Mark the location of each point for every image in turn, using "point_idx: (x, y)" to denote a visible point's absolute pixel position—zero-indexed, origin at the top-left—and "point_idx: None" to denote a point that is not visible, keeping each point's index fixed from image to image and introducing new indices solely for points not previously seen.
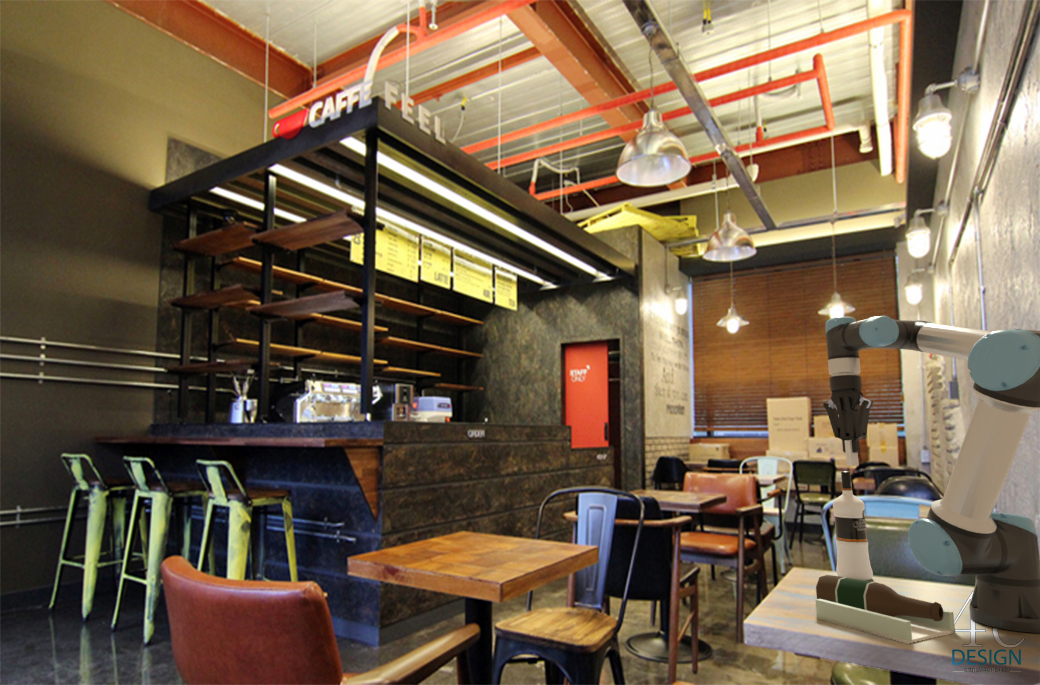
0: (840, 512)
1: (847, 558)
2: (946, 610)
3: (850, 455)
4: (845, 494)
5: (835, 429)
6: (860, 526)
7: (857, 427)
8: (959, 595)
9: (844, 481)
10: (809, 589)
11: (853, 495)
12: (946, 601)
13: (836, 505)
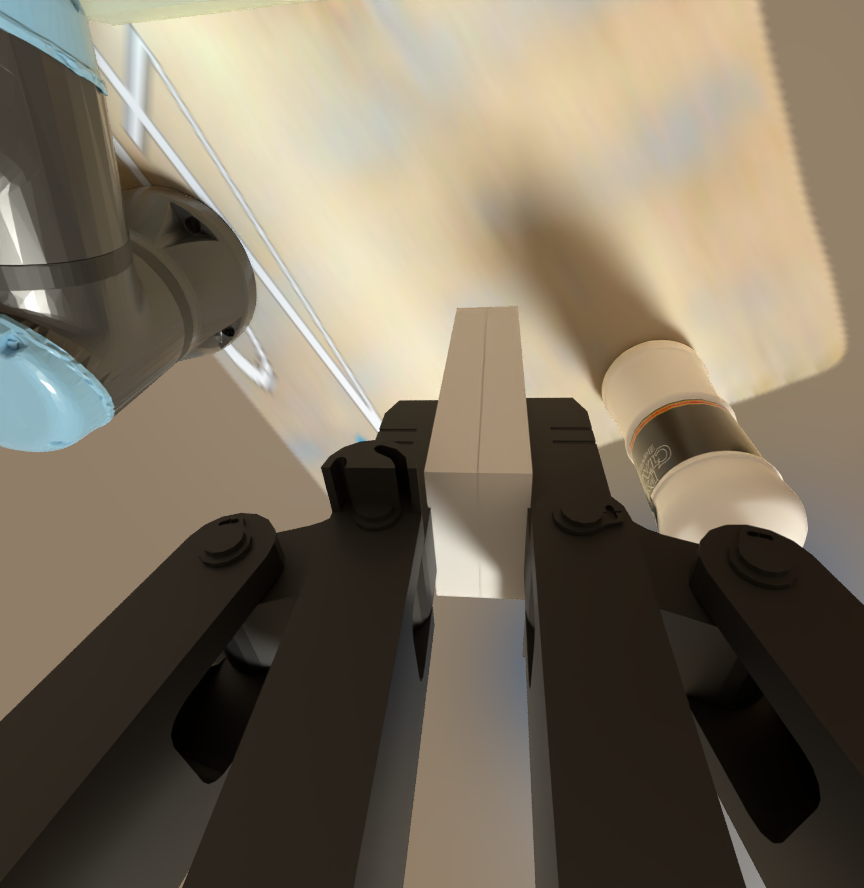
0: (734, 462)
1: (662, 371)
2: (91, 13)
3: (454, 351)
4: None
5: (861, 714)
6: (647, 463)
7: (134, 707)
8: None
9: None
10: (661, 86)
11: None
12: (368, 339)
13: (767, 482)
